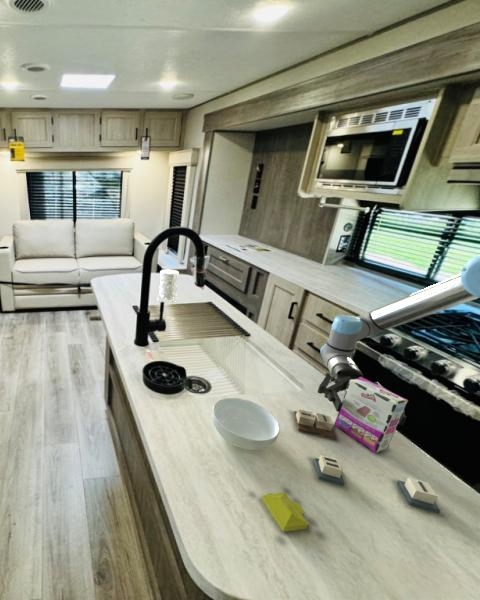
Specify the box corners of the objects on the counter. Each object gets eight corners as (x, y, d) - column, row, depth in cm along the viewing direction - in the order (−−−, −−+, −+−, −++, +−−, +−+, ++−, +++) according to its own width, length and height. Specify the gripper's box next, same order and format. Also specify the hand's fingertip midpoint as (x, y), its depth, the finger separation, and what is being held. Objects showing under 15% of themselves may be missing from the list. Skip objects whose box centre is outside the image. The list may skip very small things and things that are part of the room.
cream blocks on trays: (424, 490, 74) (430, 479, 72) (438, 513, 68) (445, 502, 67) (312, 460, 82) (316, 449, 81) (318, 479, 77) (322, 468, 75)
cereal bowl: (207, 447, 86) (210, 427, 84) (211, 409, 100) (214, 391, 98) (278, 469, 80) (284, 448, 77) (271, 425, 94) (276, 406, 91)
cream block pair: (327, 421, 95) (330, 411, 94) (335, 439, 88) (339, 429, 87) (293, 413, 98) (295, 403, 97) (298, 430, 91) (301, 421, 90)
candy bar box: (388, 449, 85) (410, 400, 79) (375, 454, 83) (396, 404, 77) (344, 421, 95) (361, 375, 89) (332, 425, 93) (348, 379, 87)
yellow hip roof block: (251, 494, 73) (254, 486, 72) (288, 490, 74) (290, 482, 73) (281, 540, 64) (284, 531, 63) (322, 535, 65) (326, 526, 64)
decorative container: (167, 295, 199) (169, 268, 193) (181, 300, 190) (183, 272, 183) (153, 298, 194) (155, 270, 188) (166, 304, 185) (169, 275, 178)
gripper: (390, 390, 99) (426, 438, 81) (298, 373, 109) (312, 413, 91) (398, 371, 97) (437, 415, 79) (303, 355, 106) (318, 391, 88)
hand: (370, 414), depth 85 cm, fingers open, 13 cm apart
